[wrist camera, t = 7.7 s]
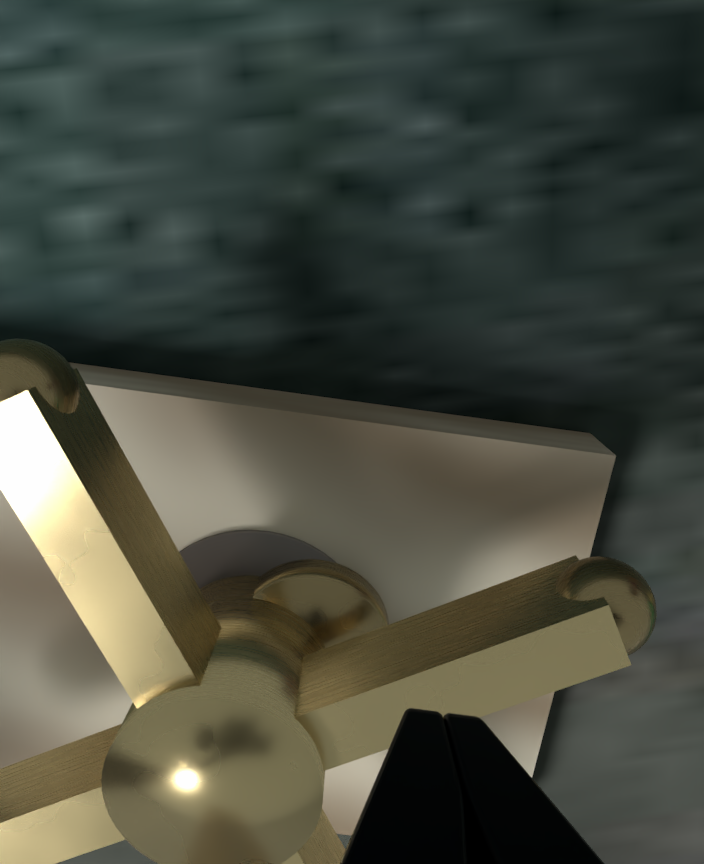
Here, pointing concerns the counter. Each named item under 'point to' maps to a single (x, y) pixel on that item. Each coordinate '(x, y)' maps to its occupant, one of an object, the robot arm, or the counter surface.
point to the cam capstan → (250, 657)
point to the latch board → (301, 532)
